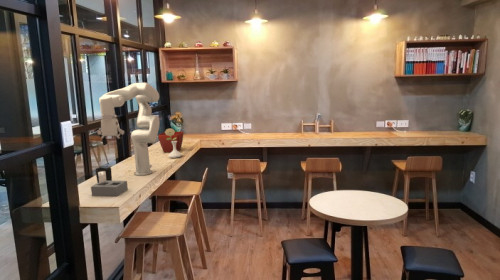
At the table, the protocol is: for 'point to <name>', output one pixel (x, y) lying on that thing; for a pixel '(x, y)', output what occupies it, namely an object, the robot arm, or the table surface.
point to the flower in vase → (174, 153)
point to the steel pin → (102, 178)
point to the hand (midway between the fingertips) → (112, 144)
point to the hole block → (109, 188)
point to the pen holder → (108, 173)
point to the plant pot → (167, 144)
